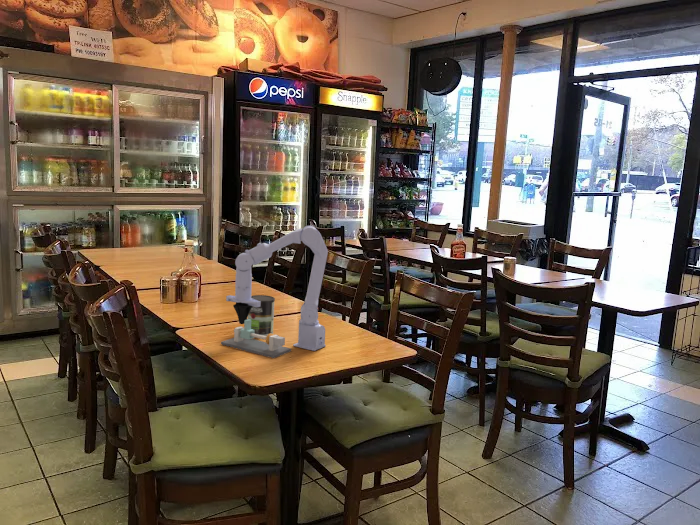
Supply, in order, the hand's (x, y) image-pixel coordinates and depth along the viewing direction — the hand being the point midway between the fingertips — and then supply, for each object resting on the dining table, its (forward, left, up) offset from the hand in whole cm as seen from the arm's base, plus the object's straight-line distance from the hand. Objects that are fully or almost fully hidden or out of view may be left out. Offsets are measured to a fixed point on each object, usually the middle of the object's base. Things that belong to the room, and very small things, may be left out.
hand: (242, 323), depth 202 cm
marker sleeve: (-2, 0, -5) cm, 5 cm away
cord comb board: (-6, 0, -8) cm, 10 cm away
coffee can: (+5, -16, -8) cm, 19 cm away
